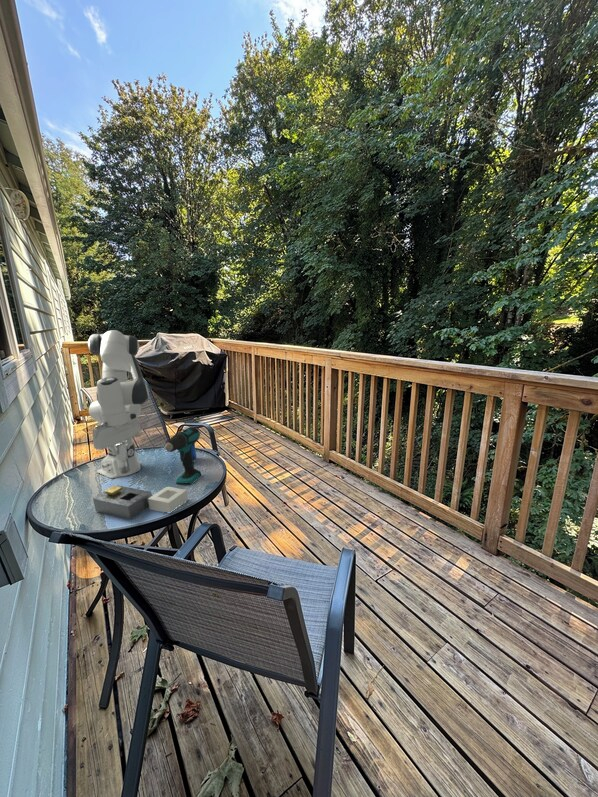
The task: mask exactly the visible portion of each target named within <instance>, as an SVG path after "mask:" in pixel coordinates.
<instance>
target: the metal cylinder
mask: <svg viewBox="0 0 598 797" xmlns="http://www.w3.org/2000/svg"><path fill="white" fill-rule="evenodd" d="M115 449H116V450H118V452H119V454H117V455H116V458H117V463H118V468H119V473H120V474H125V473H128V472H130V467H129V461H128V456H127V450H126V445H125V442H120V443H117V444H115Z"/></svg>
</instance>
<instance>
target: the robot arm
mask: <svg viewBox="0 0 598 797" xmlns="http://www.w3.org/2000/svg"><path fill="white" fill-rule="evenodd" d="M138 340H139V339H138V338H137V337H136V336H134V335H130V334H129V335H126V334H123V333H122V332H121V331H119V330H115V329H114V330H113V329H111V330H107V331H106V332H105V333H92V334H91V335H90V336H89V338H88V340H87V347H88V349H89V352H90V353H91V354H92V355H94V356H100V359H101V361H102V370H101V372H102V373H101V374H102V376H101V378H100V379H99V380H98V381H96V382H97V383H96V399H97V400H95V401H92V402H91V404H90V405H89V407H88V415H89V416H90V418H91V419H93V420H94V421H96V422H97V423H98V425H95V426H94V428H92V443H93V448H94V449H95V450H99V451H103V450H106V451H108V452H107V453H108V454H107V455H106V456H105V457H104V458H103V459H102V460H101V462H100V468H99V469H97V470H96V473H97V472H98V473H97V474H99V473H100V474H99V475H101V474H102V475H101V476H103V475H104V476H103V477H107V478H109V479H116V478H119V477H127V476H130V475H132V474H135V473H136V472H139V471H140V470H141V465H142V462H141V461H140V460H139V456H138V453H137V451H136V445H135V443H134V441H133V437H134V436H137V435H139V434H140V433H141V430H142V429H141V424H140V421H139V419H138V418H139V417H140V415H141V413H142V412H141V411H142V408H141V405H144V404H145V403H146V402H147V401H148V400H149V396H150V393H149V392H150V391H149V388H148V386H147V384H146V382H145V380H144V376H143V373H142V370H141V368H140V364H139V362H138V359H137V358H136V356H137V355H138V353H139V351H140V344H139V341H138ZM128 372H129V373H130V374H131V376H132V380H130V381H128ZM120 442H125V445H126V450H127V456H128V461H129V467H130V472H128V473H125V474H120V473H119V468H118V463H117V458H116V455H117V454H119V452H118V450H116V449H115V444H117V443H120Z"/></svg>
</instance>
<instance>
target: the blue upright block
mask: <svg viewBox="0 0 598 797" xmlns="http://www.w3.org/2000/svg"><path fill="white" fill-rule="evenodd" d="M195 444H196V443H195ZM195 444H194V445H193V446H192V447H191V453H192V457H193V461H195V462H196V460H197V453H196V452H197V451H196V445H195ZM180 462H181V463H182V459H180Z"/></svg>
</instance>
